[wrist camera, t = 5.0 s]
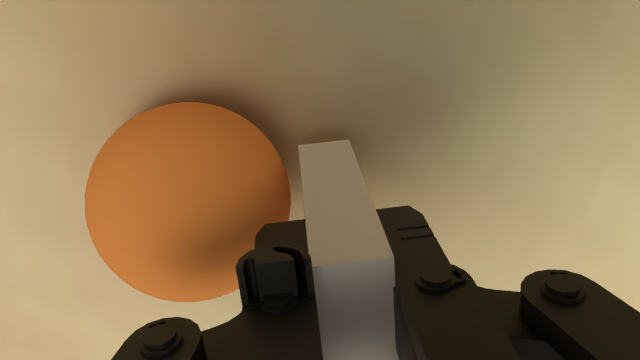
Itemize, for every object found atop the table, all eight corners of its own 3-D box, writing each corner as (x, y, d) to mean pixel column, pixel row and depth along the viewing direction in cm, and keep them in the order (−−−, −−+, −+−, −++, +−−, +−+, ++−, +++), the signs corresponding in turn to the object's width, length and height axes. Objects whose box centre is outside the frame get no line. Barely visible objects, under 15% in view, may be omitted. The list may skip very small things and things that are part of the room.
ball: (282, 77, 16) (283, 130, 11) (294, 233, 18) (299, 336, 13) (102, 87, 16) (20, 148, 11) (135, 244, 18) (80, 355, 13)
